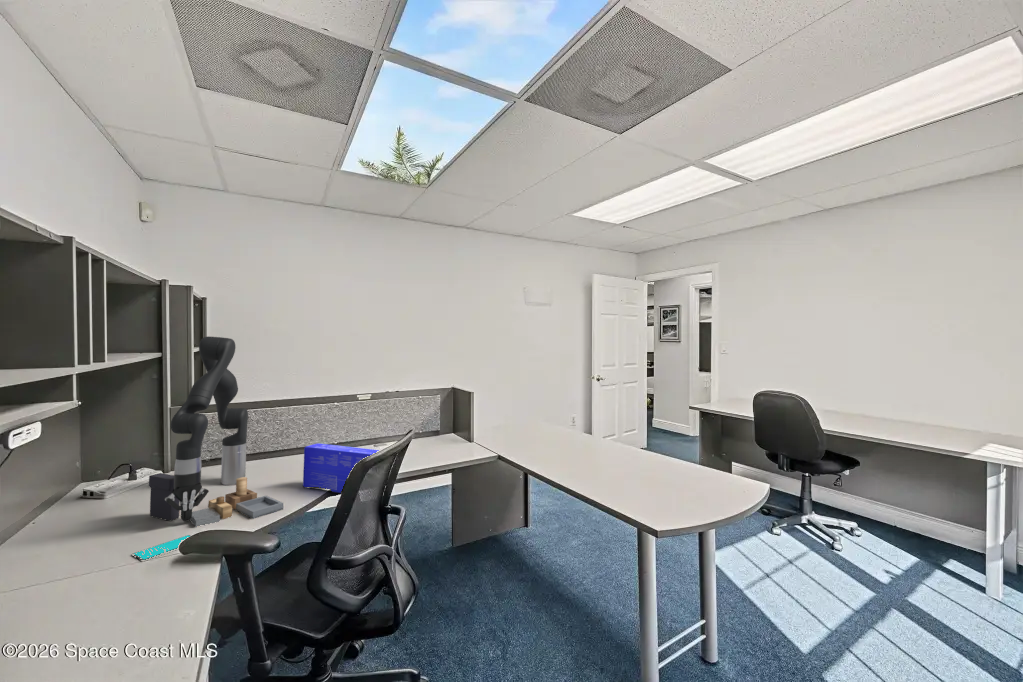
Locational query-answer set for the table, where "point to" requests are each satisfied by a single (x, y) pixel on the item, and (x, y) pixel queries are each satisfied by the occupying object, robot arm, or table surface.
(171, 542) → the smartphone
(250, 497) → the socket block
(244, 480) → the dowel
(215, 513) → the grey rectangular block
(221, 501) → the stop block
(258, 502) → the tray
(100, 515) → the table surface
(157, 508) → the tall lidded box
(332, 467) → the toner cartridge box
